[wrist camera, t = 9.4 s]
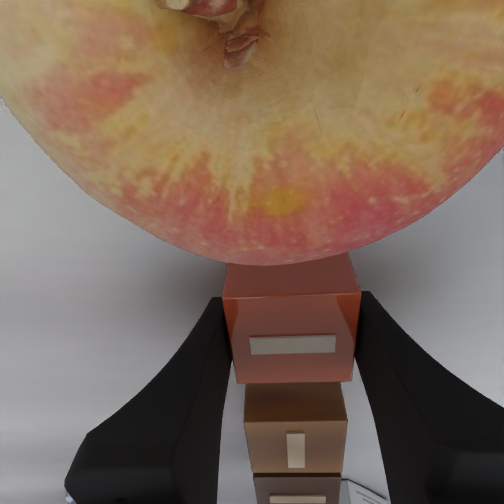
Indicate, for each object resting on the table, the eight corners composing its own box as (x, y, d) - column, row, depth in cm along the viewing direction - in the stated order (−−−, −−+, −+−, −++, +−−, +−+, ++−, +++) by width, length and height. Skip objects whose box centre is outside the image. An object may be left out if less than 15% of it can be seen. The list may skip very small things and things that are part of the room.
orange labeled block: (338, 325, 16) (352, 384, 13) (241, 328, 16) (236, 386, 14) (344, 242, 14) (363, 294, 11) (229, 248, 14) (220, 300, 11)
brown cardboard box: (332, 416, 20) (342, 475, 17) (253, 417, 20) (251, 475, 18) (336, 363, 17) (348, 423, 15) (246, 366, 18) (243, 424, 15)
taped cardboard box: (329, 460, 23) (337, 517, 20) (260, 461, 23) (259, 517, 20) (332, 421, 20) (342, 480, 18) (254, 422, 20) (252, 480, 18)
